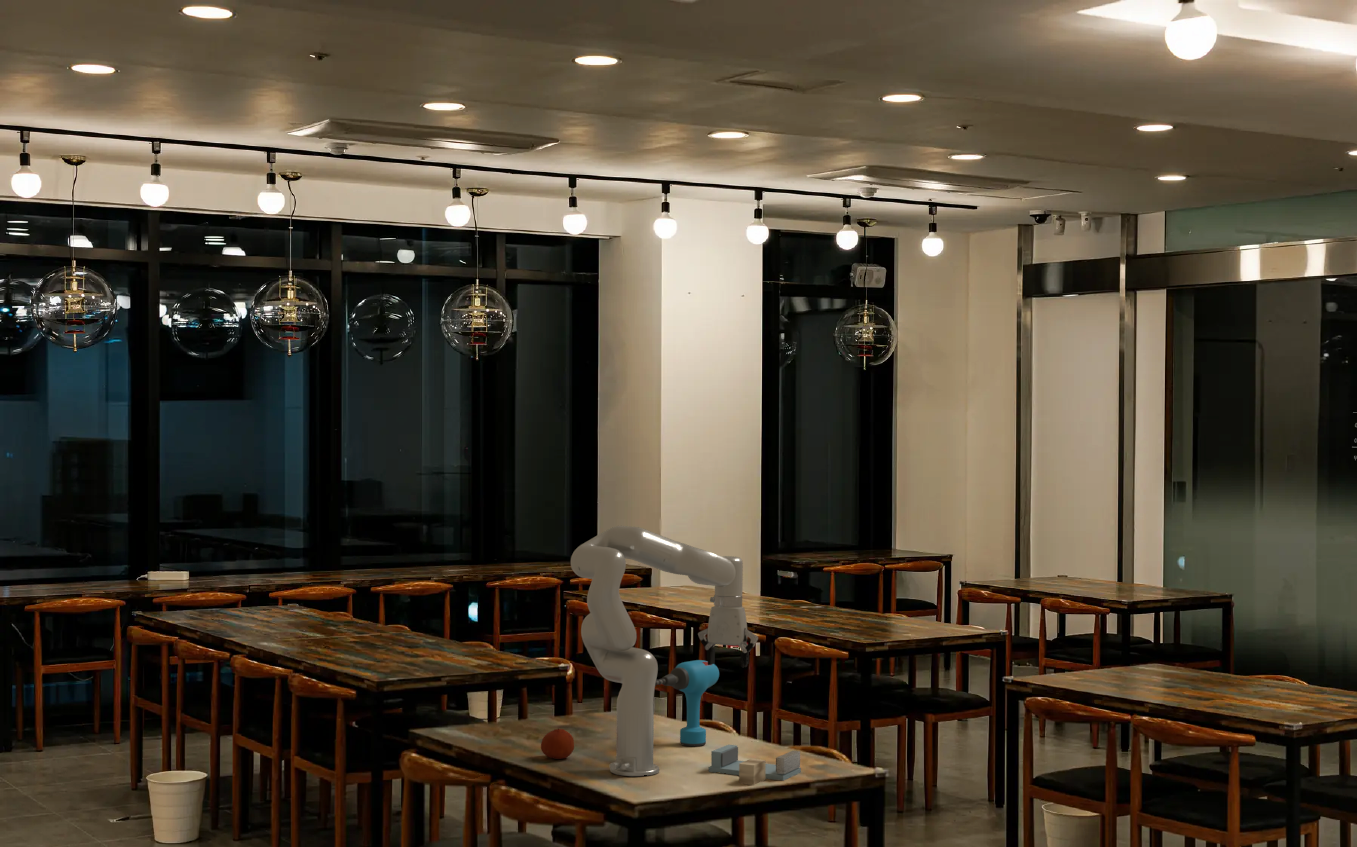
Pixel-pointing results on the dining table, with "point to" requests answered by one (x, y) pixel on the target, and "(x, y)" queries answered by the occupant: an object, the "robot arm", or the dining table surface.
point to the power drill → (692, 695)
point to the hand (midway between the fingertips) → (727, 665)
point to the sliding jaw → (788, 762)
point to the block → (752, 771)
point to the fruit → (557, 744)
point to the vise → (729, 763)
